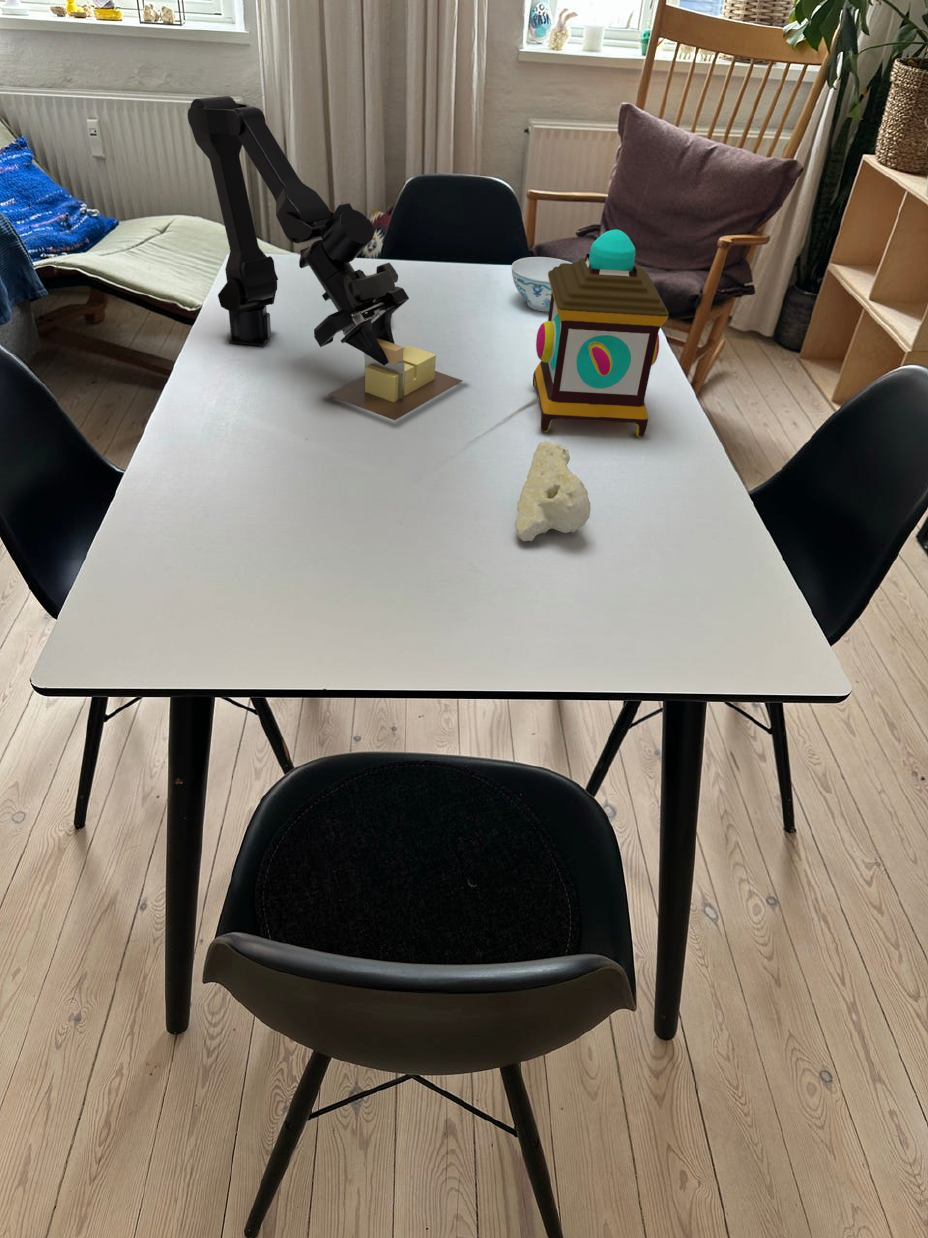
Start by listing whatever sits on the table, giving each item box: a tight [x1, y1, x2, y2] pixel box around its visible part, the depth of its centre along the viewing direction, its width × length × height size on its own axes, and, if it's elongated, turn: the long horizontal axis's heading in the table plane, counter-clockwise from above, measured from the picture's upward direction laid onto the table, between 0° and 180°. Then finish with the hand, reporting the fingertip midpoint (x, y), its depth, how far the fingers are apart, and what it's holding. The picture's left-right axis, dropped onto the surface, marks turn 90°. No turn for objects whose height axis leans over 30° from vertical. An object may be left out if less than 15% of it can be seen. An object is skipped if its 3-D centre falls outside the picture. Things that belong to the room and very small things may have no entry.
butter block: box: [402, 344, 437, 396], centre depth 158 cm, size 6×9×4 cm, turn 146°
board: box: [327, 370, 464, 421], centre depth 158 cm, size 14×20×1 cm
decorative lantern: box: [532, 229, 670, 438], centre depth 148 cm, size 20×20×30 cm
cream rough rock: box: [515, 441, 592, 542], centre depth 128 cm, size 15×7×15 cm
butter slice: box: [364, 365, 398, 402], centre depth 153 cm, size 6×1×4 cm, turn 57°
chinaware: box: [511, 256, 573, 313], centre depth 193 cm, size 15×15×8 cm
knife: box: [364, 338, 405, 401], centre depth 152 cm, size 8×2×9 cm, turn 57°
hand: (391, 361), depth 151 cm, fingers closed on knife, 2 cm apart
